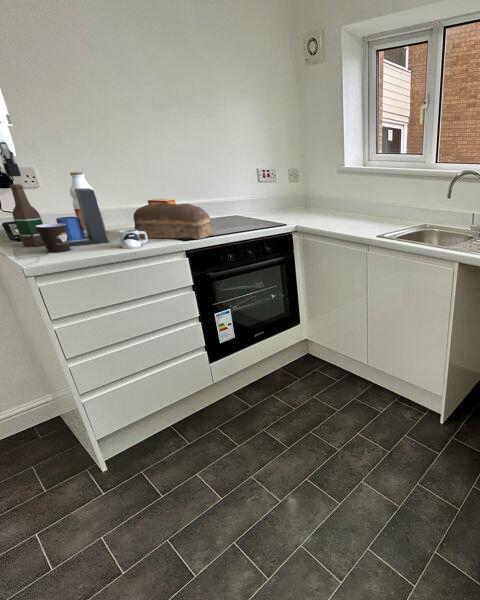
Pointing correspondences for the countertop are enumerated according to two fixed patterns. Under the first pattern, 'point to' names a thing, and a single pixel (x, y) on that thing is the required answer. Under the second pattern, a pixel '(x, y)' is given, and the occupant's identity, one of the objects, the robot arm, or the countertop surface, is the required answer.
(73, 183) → the fruit juice
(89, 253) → the countertop surface
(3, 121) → the robot arm
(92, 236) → the dark grey upright panel
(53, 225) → the coffee mug
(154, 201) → the baking soda box
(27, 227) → the beer bottle
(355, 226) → the countertop surface
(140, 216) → the bread
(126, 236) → the mug
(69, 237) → the blue cup
